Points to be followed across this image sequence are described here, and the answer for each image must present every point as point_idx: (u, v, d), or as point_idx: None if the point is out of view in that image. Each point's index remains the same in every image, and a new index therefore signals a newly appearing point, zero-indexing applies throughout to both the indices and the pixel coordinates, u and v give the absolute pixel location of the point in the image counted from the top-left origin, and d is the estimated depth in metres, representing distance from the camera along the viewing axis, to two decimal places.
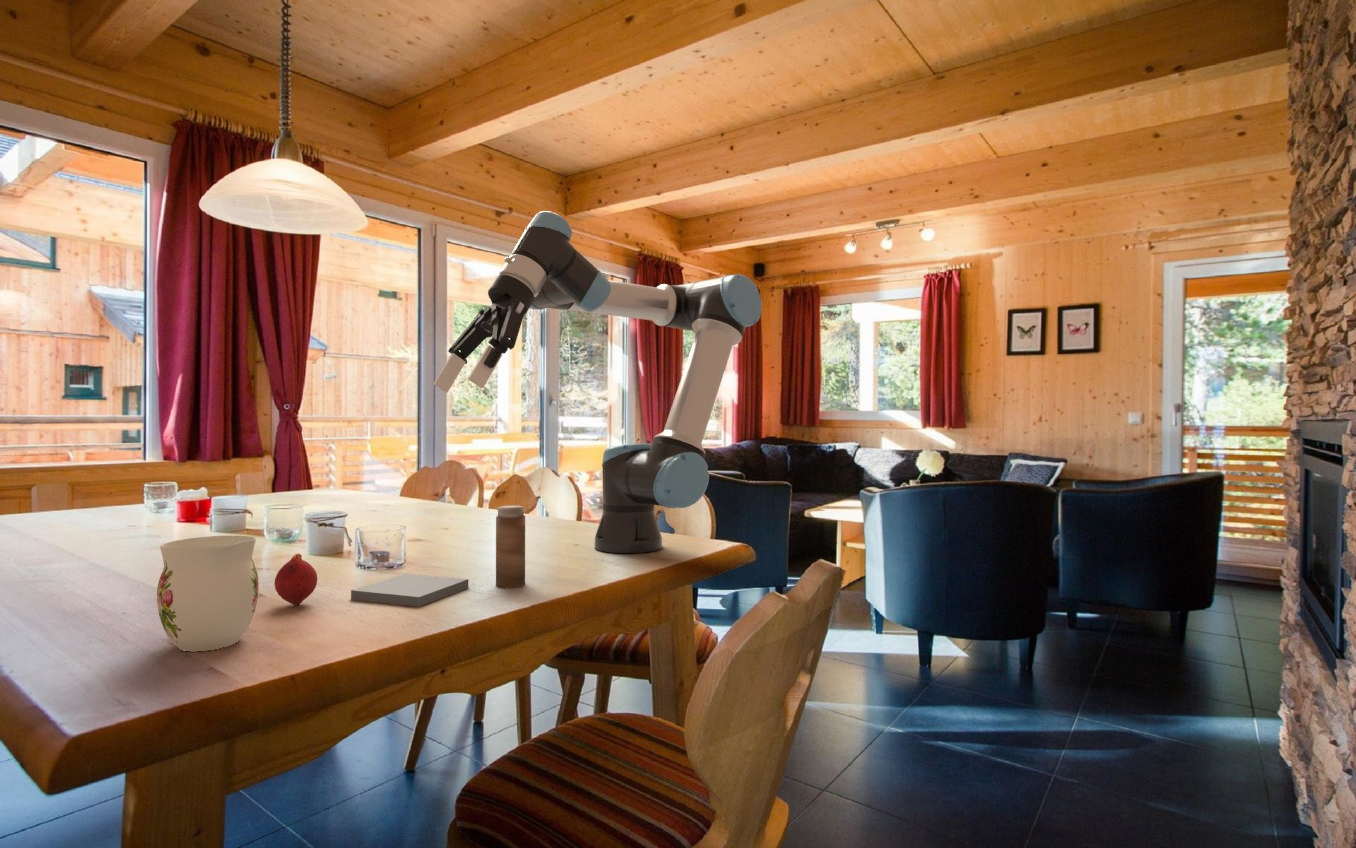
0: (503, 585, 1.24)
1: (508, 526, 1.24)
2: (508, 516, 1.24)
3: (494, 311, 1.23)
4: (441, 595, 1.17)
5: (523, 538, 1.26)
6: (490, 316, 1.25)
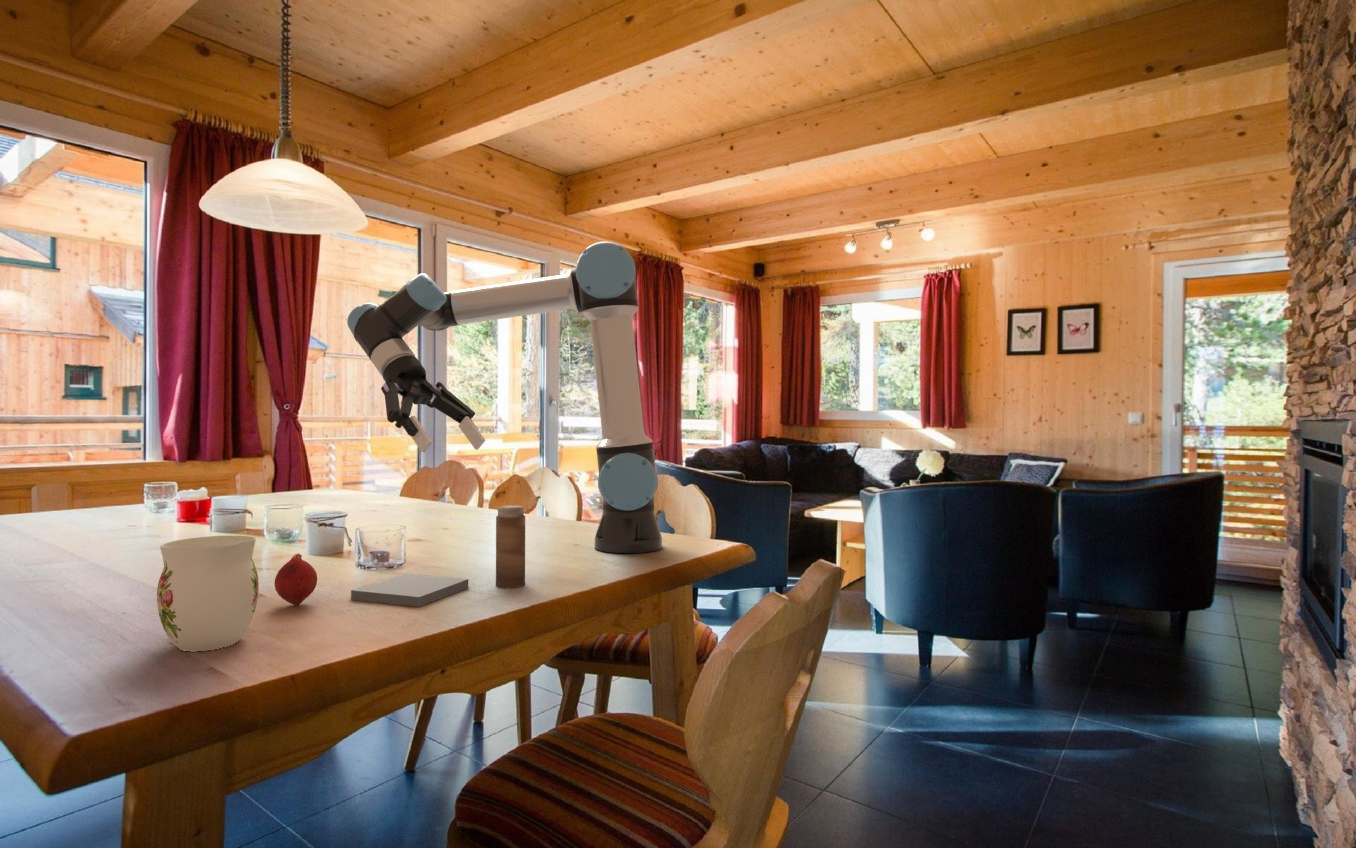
0: (503, 585, 1.24)
1: (508, 526, 1.24)
2: (508, 516, 1.24)
3: None
4: (441, 595, 1.17)
5: (523, 538, 1.26)
6: None
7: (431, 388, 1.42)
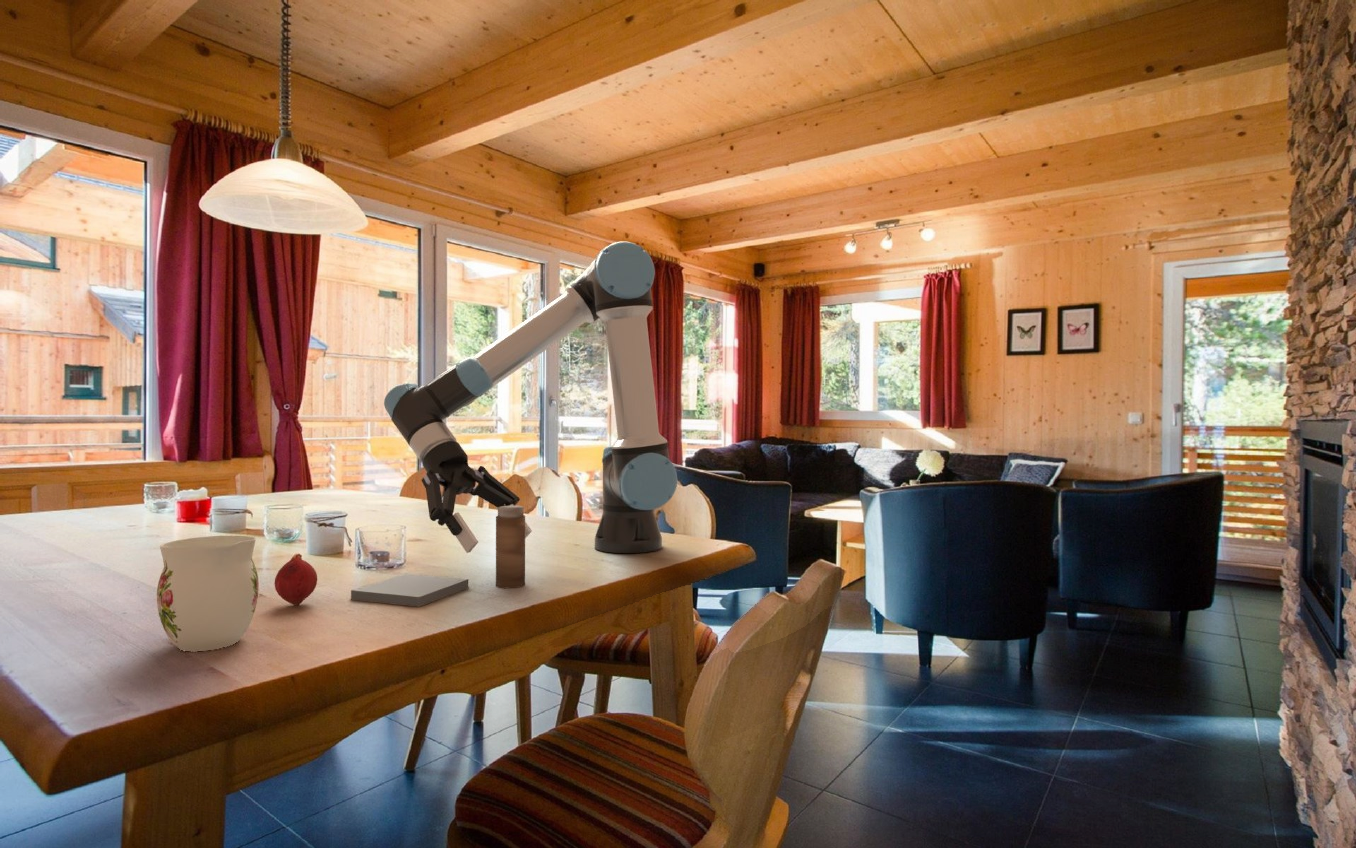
0: (503, 585, 1.24)
1: (508, 526, 1.24)
2: (508, 516, 1.24)
3: None
4: (441, 595, 1.17)
5: (523, 538, 1.26)
6: None
7: (474, 475, 1.32)
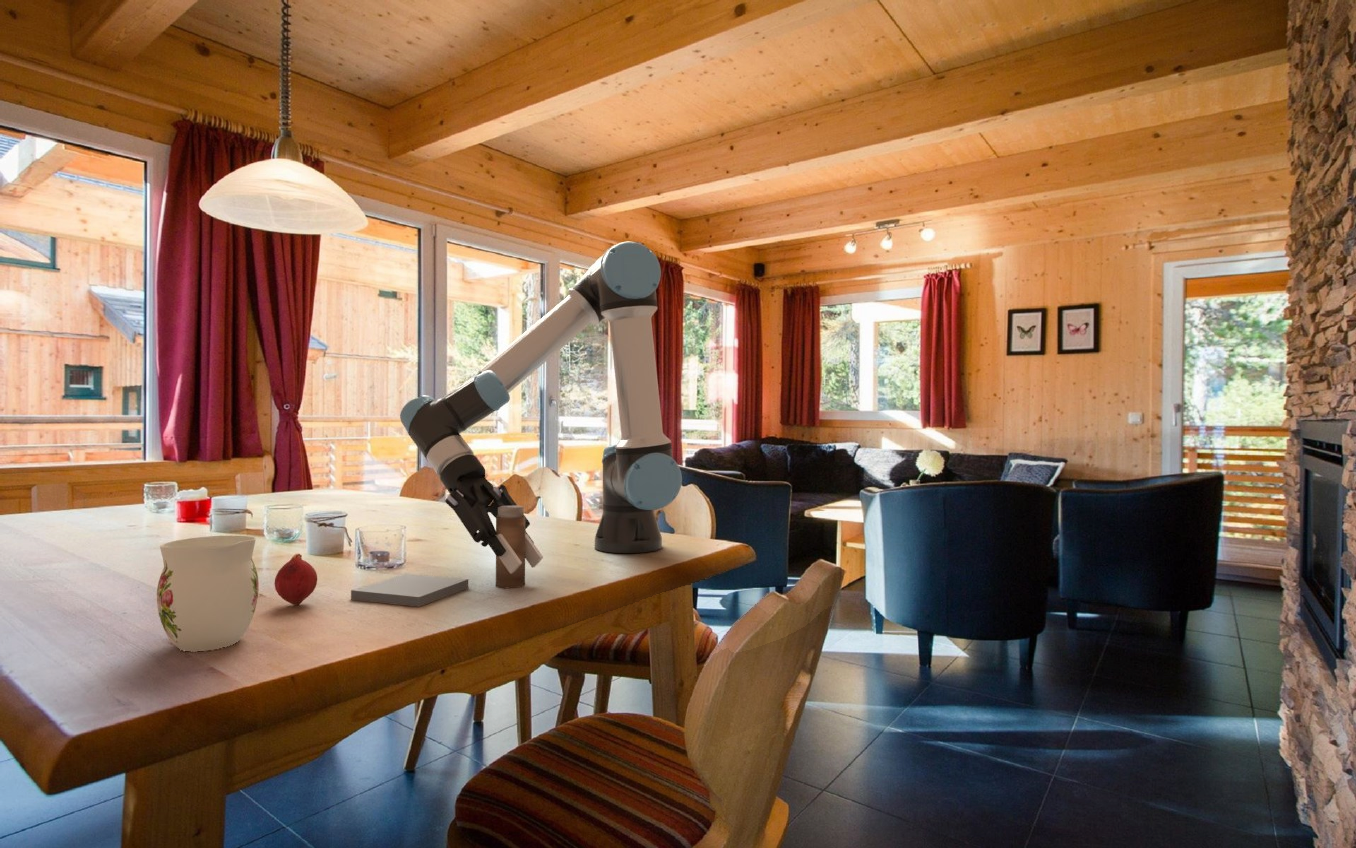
0: (503, 585, 1.24)
1: (508, 526, 1.24)
2: (508, 516, 1.24)
3: None
4: (441, 595, 1.17)
5: (523, 538, 1.26)
6: None
7: (491, 491, 1.31)
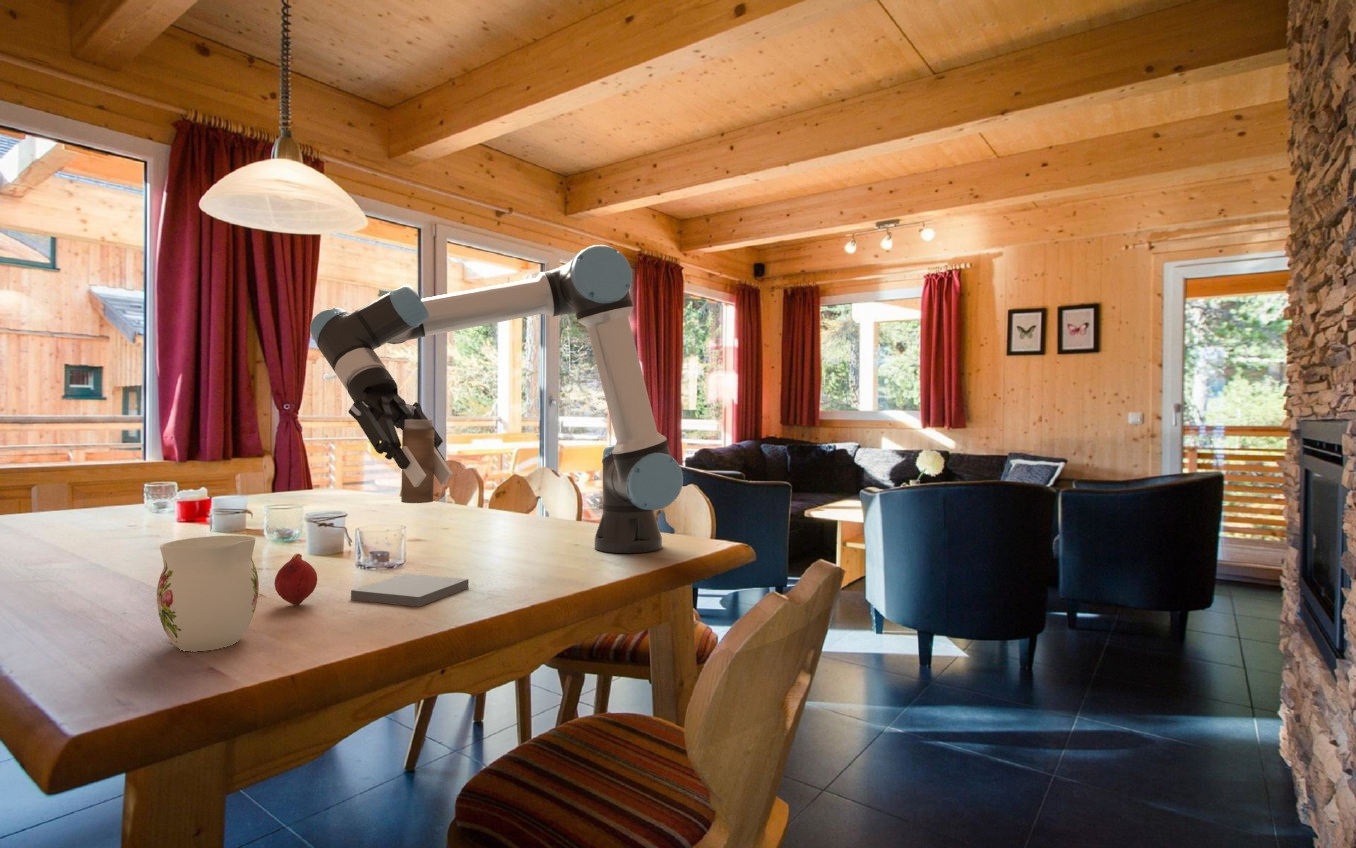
0: (408, 500, 1.18)
1: (413, 438, 1.18)
2: (414, 427, 1.18)
3: None
4: (441, 595, 1.17)
5: (431, 452, 1.20)
6: None
7: (401, 405, 1.24)
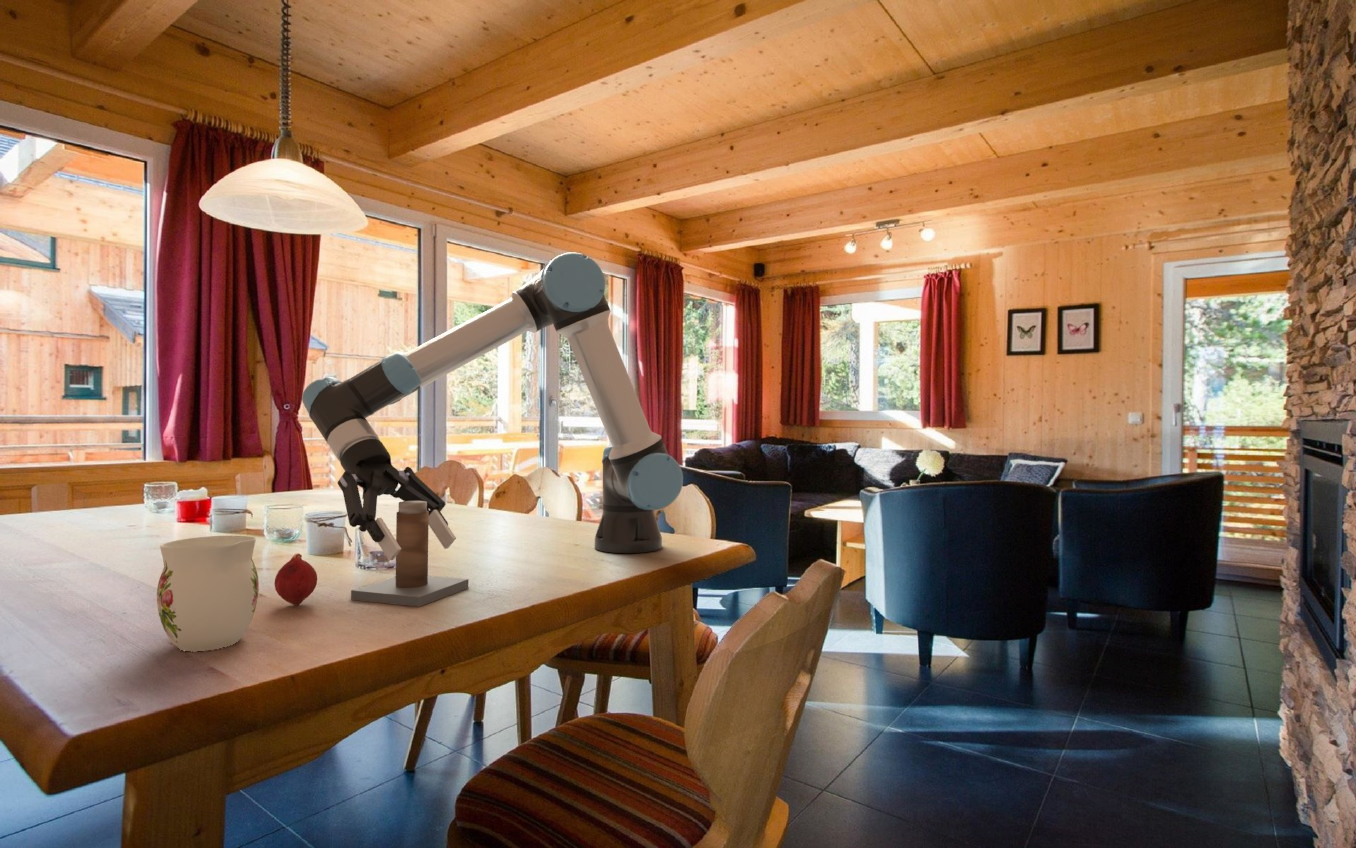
0: (402, 585, 1.18)
1: (407, 523, 1.17)
2: (408, 512, 1.17)
3: None
4: (441, 595, 1.17)
5: (425, 535, 1.19)
6: None
7: (395, 476, 1.24)
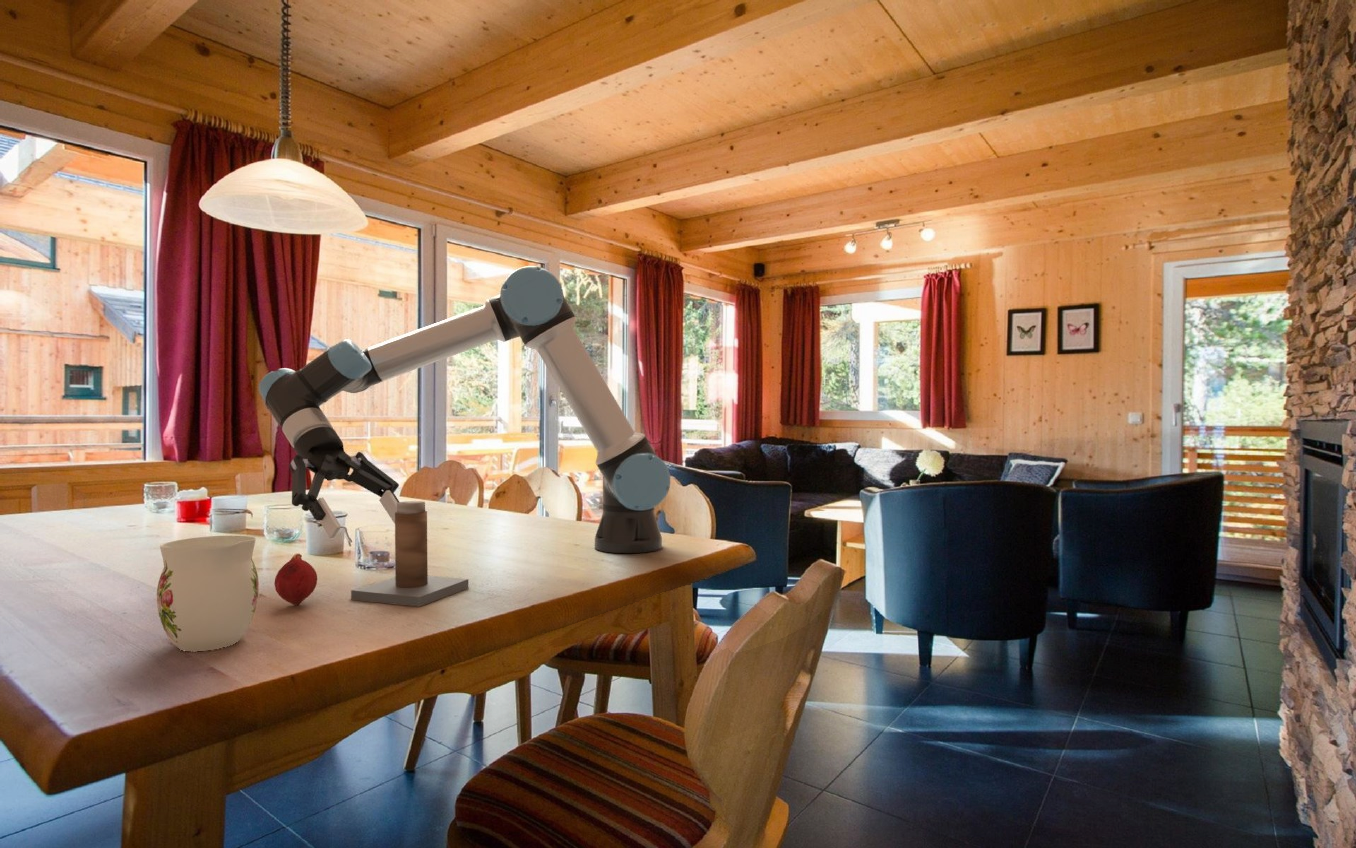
0: (402, 585, 1.18)
1: (406, 523, 1.17)
2: (406, 512, 1.18)
3: None
4: (441, 595, 1.17)
5: (424, 535, 1.19)
6: None
7: (347, 461, 1.31)
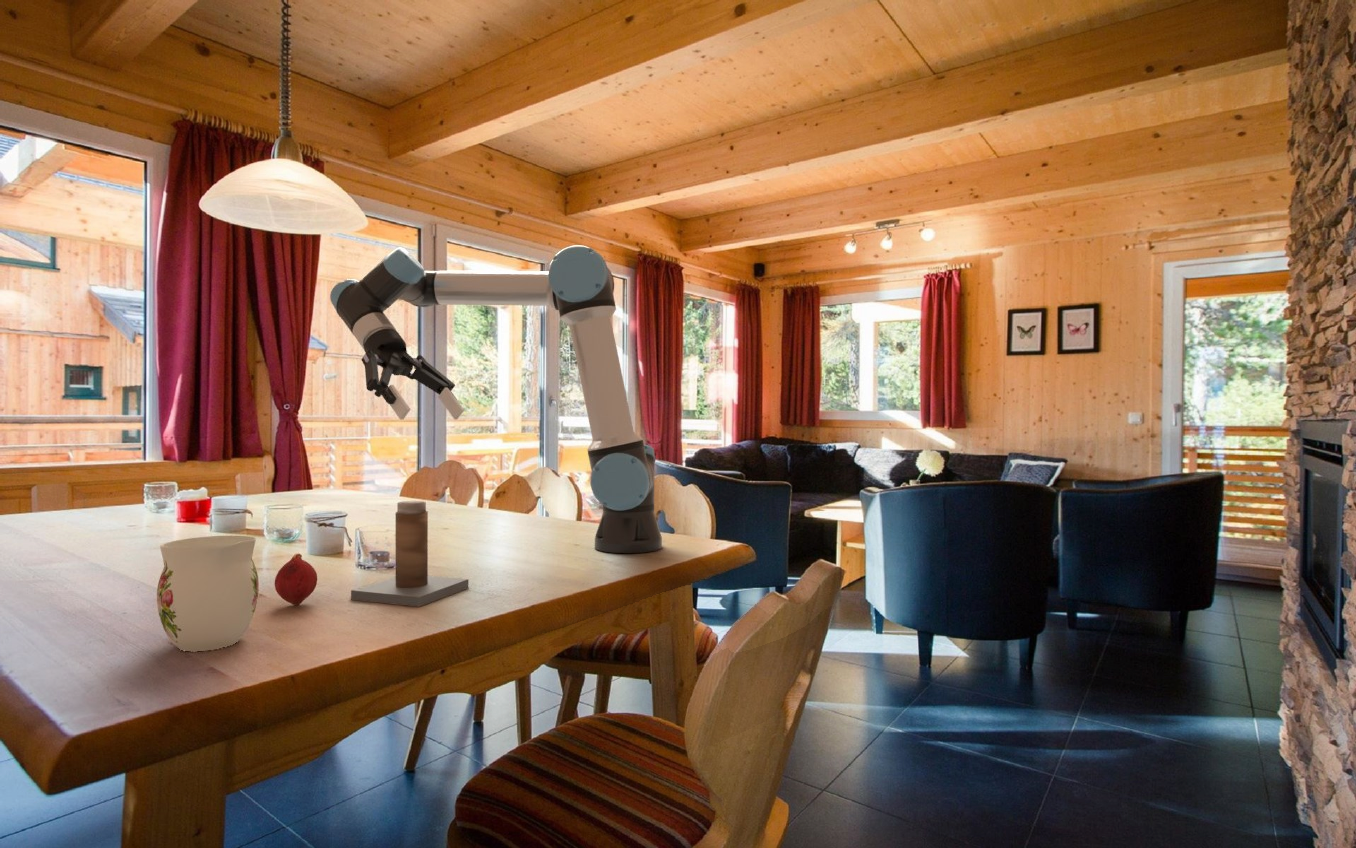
0: (402, 585, 1.18)
1: (407, 523, 1.17)
2: (407, 512, 1.17)
3: None
4: (441, 595, 1.17)
5: (425, 535, 1.19)
6: None
7: (411, 360, 1.46)
